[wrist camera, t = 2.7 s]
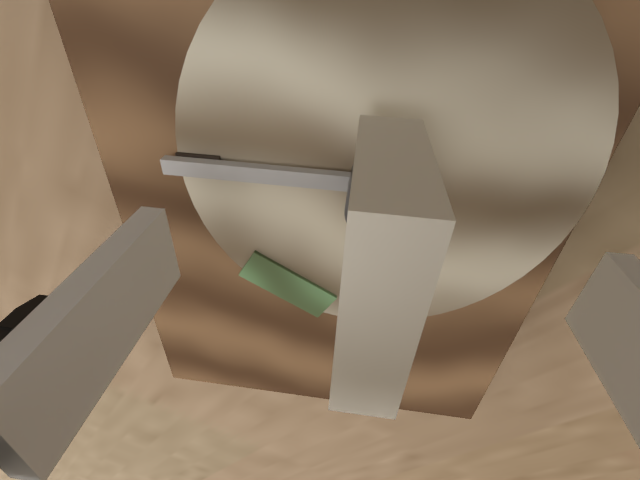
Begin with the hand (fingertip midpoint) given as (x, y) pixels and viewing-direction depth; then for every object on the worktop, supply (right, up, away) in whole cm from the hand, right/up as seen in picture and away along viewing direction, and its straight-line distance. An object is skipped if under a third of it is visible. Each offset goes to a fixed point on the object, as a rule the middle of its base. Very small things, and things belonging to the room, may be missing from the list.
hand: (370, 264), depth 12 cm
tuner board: (-1, +3, +8) cm, 9 cm away
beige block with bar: (-3, +4, +5) cm, 7 cm away
